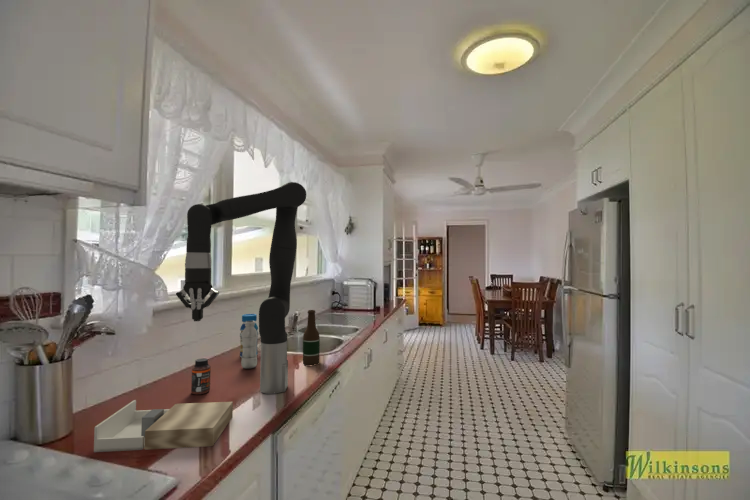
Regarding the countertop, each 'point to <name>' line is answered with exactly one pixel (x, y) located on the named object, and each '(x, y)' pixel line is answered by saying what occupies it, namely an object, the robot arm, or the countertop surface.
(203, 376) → the supplement bottle
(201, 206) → the robot arm
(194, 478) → the countertop surface
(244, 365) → the plastic bottle
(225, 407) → the board
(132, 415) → the box
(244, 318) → the beverage bottle
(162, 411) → the grey block
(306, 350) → the beer bottle
